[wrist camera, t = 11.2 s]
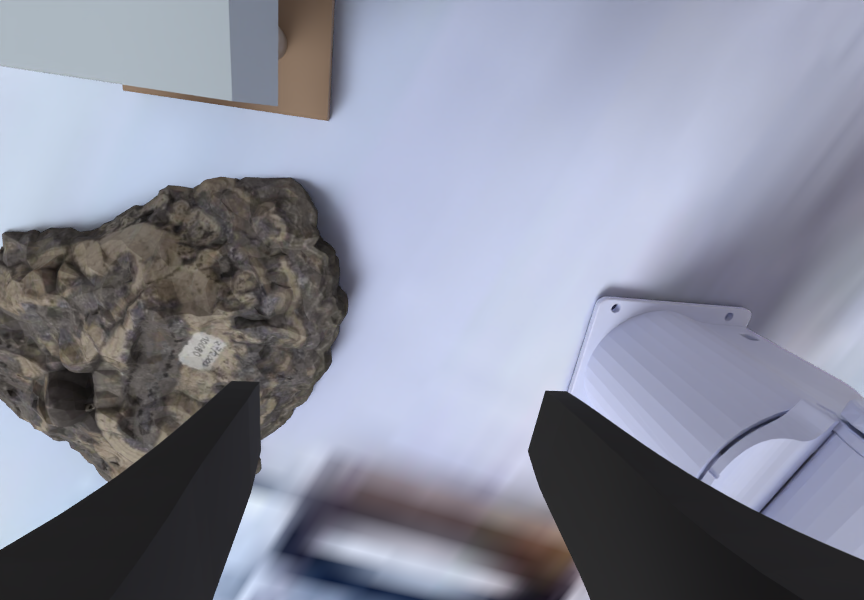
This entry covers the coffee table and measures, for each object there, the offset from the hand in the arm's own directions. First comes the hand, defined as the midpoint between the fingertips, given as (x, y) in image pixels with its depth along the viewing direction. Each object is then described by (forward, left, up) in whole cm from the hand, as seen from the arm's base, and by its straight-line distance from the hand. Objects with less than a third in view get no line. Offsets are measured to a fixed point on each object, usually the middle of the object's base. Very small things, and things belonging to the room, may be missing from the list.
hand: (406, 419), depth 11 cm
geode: (+10, +4, -11) cm, 16 cm away
